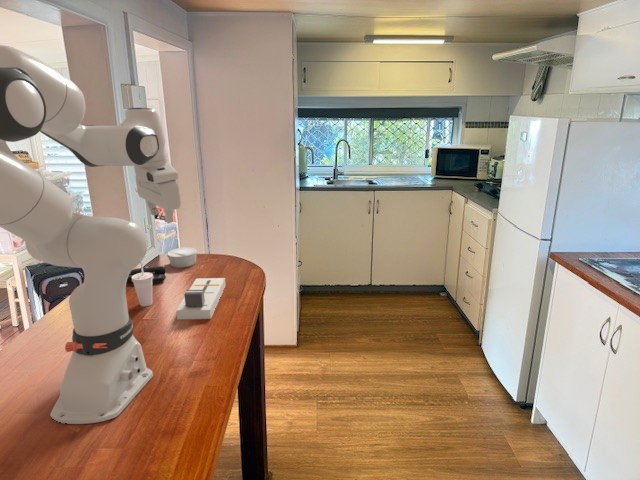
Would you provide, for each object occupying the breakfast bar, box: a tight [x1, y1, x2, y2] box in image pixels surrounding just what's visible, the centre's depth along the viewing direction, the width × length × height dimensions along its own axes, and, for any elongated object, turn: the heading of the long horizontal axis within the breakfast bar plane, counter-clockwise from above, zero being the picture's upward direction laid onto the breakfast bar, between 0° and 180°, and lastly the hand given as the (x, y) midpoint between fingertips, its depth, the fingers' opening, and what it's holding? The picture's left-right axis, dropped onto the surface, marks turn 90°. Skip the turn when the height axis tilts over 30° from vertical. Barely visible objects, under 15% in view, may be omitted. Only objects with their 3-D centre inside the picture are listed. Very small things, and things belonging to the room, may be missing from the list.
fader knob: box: [184, 289, 205, 307], centre depth 129 cm, size 3×5×4 cm, turn 91°
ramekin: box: [167, 246, 198, 269], centre depth 171 cm, size 11×11×5 cm
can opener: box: [126, 265, 167, 285], centre depth 155 cm, size 18×7×6 cm, turn 96°
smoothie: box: [131, 261, 153, 307], centre depth 136 cm, size 6×6×14 cm
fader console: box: [175, 277, 226, 320], centre depth 139 cm, size 24×10×3 cm, turn 1°
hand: (161, 218), depth 121 cm, fingers open, 8 cm apart
